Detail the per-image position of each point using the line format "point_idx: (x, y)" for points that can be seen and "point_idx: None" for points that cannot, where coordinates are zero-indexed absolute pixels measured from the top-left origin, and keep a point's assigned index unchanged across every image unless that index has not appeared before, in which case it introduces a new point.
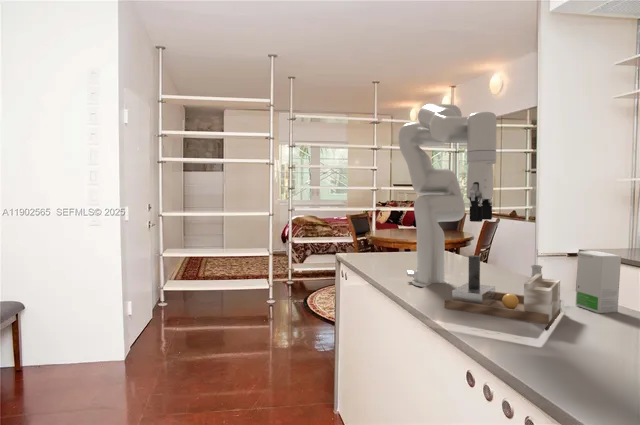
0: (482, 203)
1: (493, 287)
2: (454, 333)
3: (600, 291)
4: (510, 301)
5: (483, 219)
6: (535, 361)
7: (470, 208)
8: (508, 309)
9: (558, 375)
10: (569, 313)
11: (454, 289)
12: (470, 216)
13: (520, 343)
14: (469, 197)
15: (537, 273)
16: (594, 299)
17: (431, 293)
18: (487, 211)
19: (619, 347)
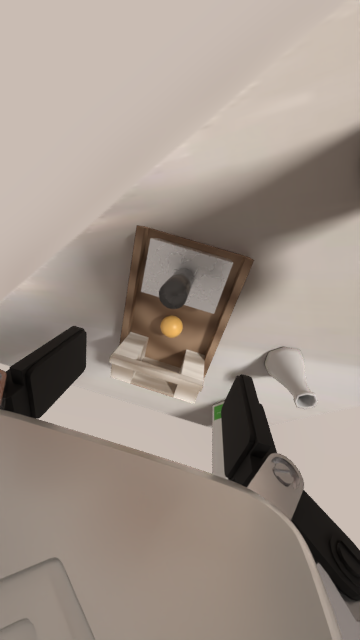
0: (256, 471)
1: (203, 310)
2: (61, 251)
3: (212, 428)
4: (160, 326)
5: (234, 384)
6: (33, 324)
7: (22, 363)
8: (124, 320)
9: (17, 335)
10: (203, 380)
11: (161, 241)
12: (60, 338)
13: (69, 318)
14: (26, 435)
15: (291, 390)
16: (218, 415)
17: (297, 172)
18: (228, 433)
19: (103, 387)
